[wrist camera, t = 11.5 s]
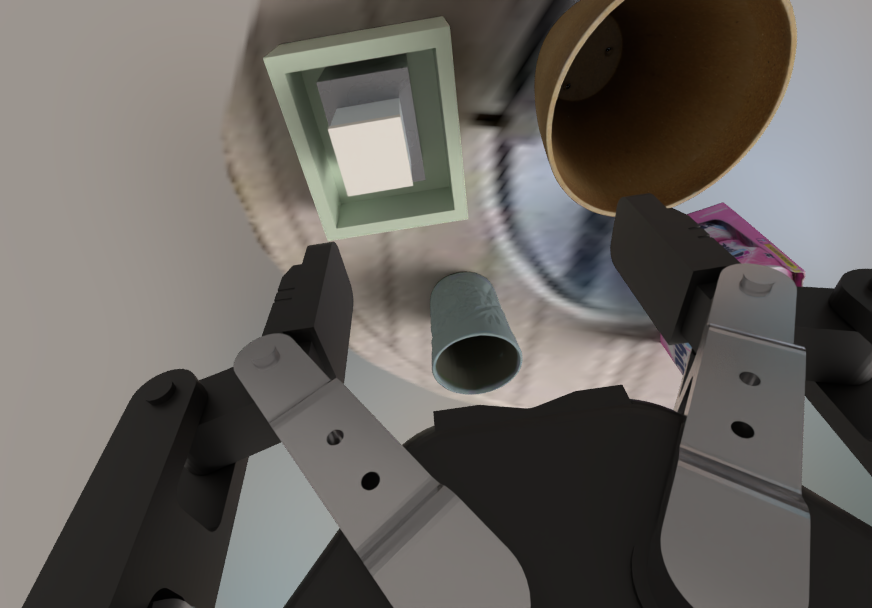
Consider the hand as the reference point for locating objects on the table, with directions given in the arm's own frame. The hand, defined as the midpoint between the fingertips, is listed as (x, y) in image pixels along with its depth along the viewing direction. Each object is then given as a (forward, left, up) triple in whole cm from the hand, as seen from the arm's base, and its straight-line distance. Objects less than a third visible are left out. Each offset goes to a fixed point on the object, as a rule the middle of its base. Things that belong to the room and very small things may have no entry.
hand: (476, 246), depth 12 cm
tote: (+5, +6, -32) cm, 33 cm away
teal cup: (-1, +29, -32) cm, 43 cm away
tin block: (+5, +5, -31) cm, 32 cm away
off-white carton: (+5, +5, -25) cm, 26 cm away
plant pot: (-14, +3, -32) cm, 35 cm away
